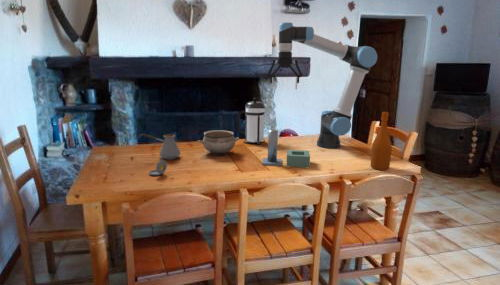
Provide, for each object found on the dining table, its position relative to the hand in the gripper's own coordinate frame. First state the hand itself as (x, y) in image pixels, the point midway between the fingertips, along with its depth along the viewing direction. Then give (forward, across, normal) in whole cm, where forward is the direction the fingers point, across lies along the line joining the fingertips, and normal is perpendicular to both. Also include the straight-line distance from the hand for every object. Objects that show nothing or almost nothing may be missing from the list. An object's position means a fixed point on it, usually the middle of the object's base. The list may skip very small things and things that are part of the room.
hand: (284, 88), depth 211 cm
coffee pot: (+37, -68, -22) cm, 81 cm away
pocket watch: (+37, -61, -49) cm, 87 cm away
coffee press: (+38, -20, +22) cm, 48 cm away
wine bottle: (+39, +51, -25) cm, 69 cm away
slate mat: (+38, -6, -23) cm, 45 cm away
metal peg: (+37, -6, -23) cm, 44 cm away
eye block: (+38, +8, -23) cm, 45 cm away
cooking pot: (+38, -38, -8) cm, 54 cm away
